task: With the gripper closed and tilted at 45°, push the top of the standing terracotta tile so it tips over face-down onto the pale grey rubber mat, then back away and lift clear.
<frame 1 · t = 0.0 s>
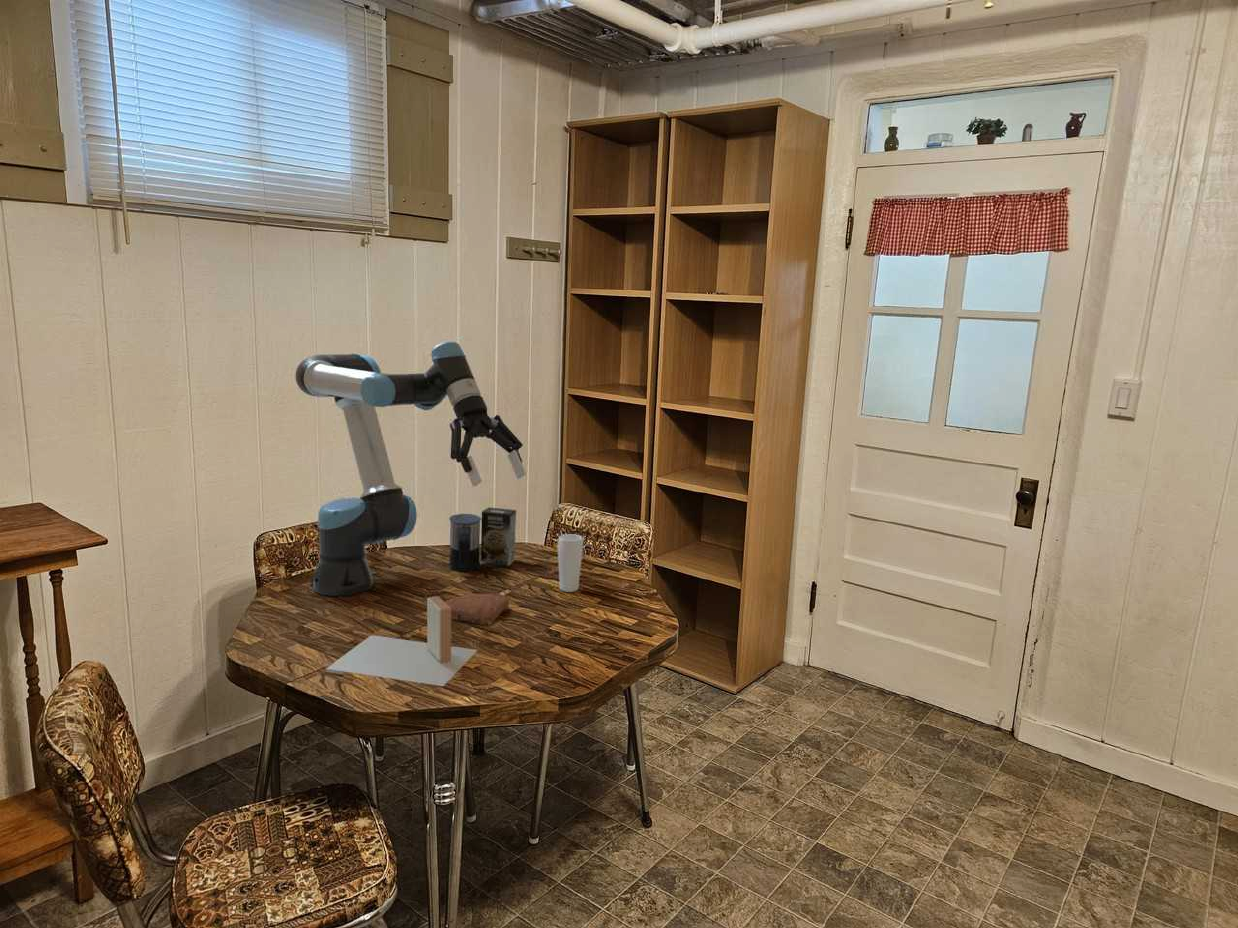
hand: (500, 480, 184), 36 cm above the table, tool tilted 35°, fingers open, 13 cm apart
terracotta tile: (438, 654, 171), point 1 cm above the table, touching grey mat
dark cardboard box: (497, 562, 238), on the table
milk frother: (477, 567, 232), on the table
grey mat: (404, 662, 168), on the table
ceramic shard: (472, 616, 197), on the table
drinking glass: (568, 590, 217), on the table
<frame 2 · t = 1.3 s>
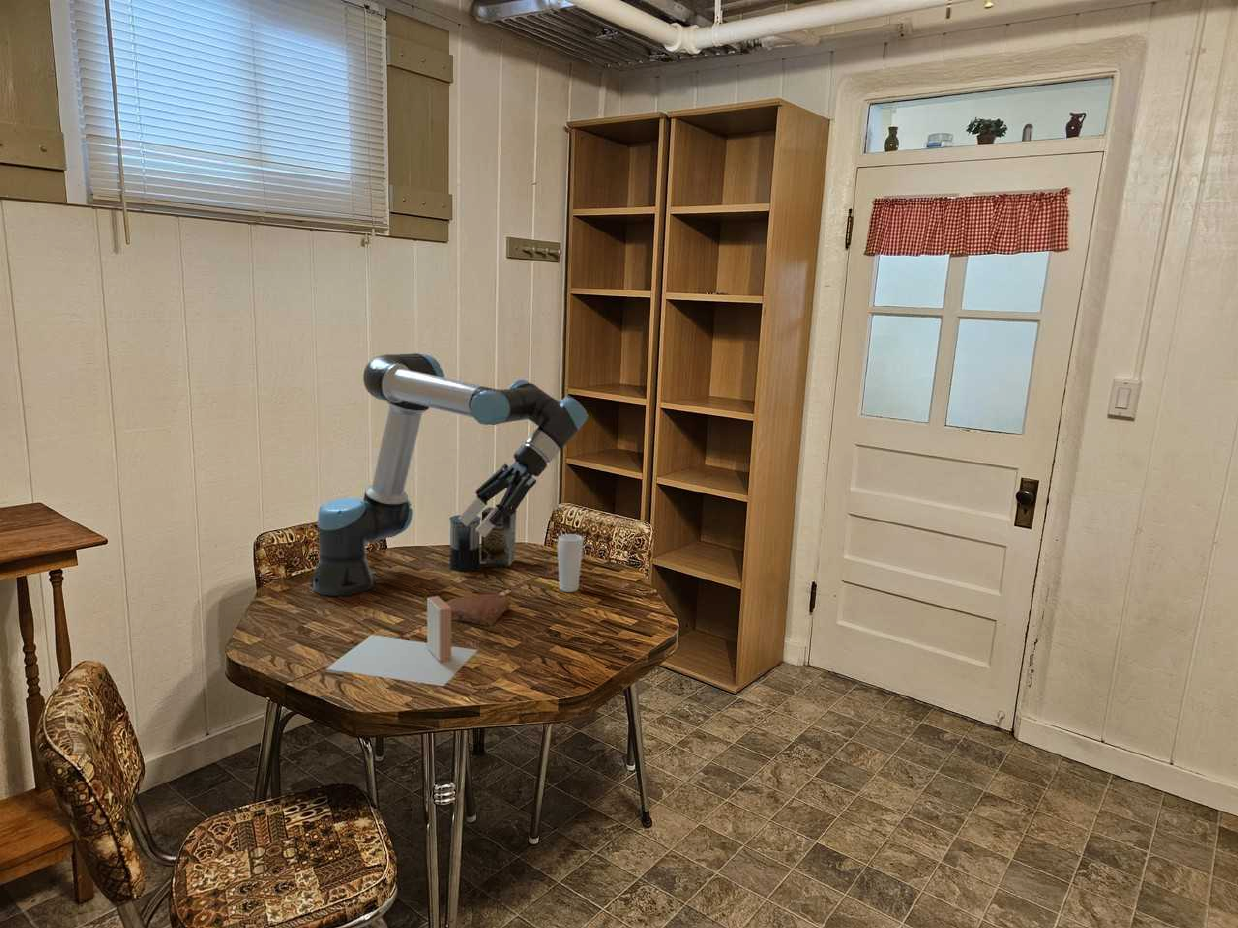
hand: (471, 527, 176), 27 cm above the table, tool tilted 45°, fingers open, 9 cm apart
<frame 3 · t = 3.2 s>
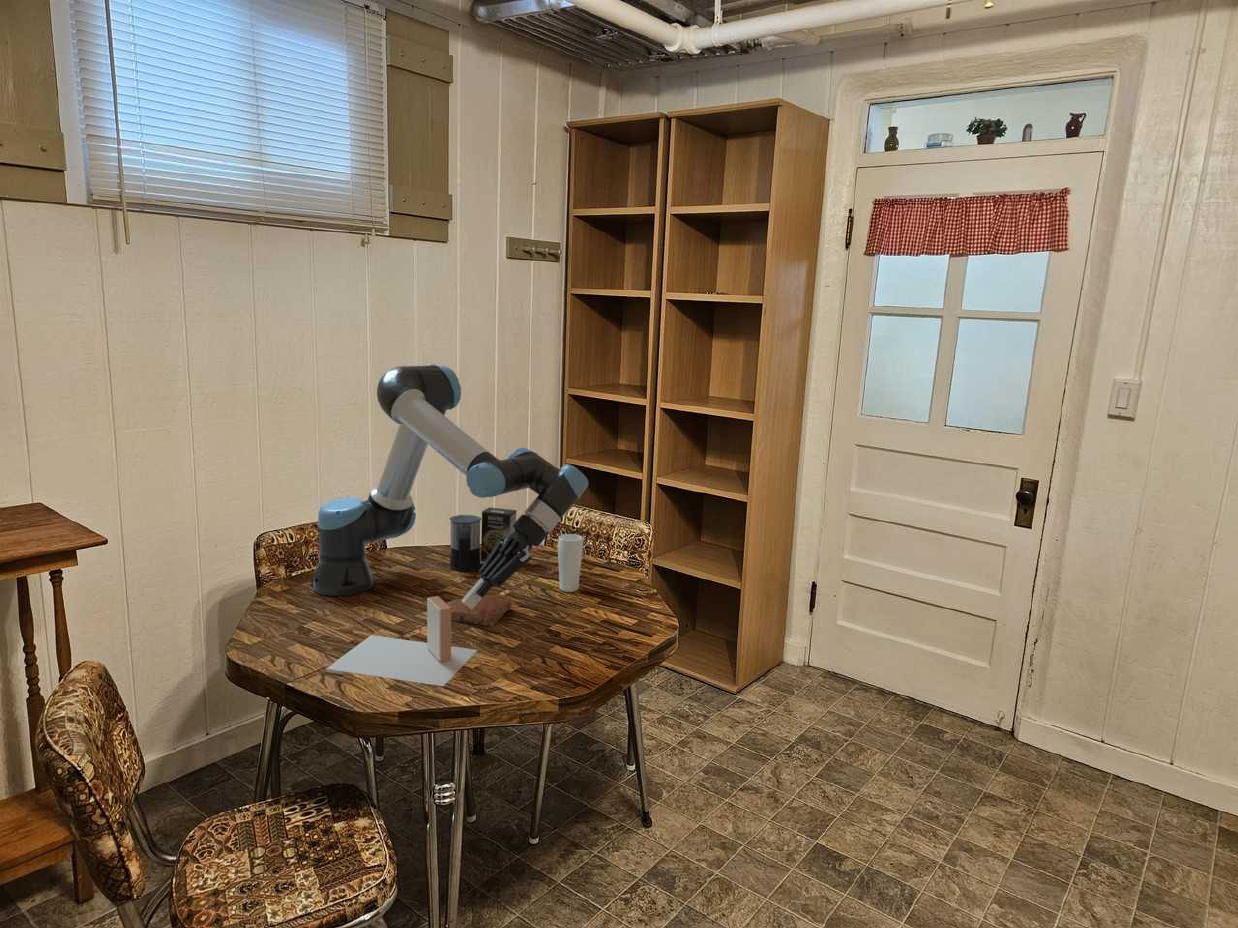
hand: (466, 605, 172), 11 cm above the table, tool tilted 45°, fingers closed
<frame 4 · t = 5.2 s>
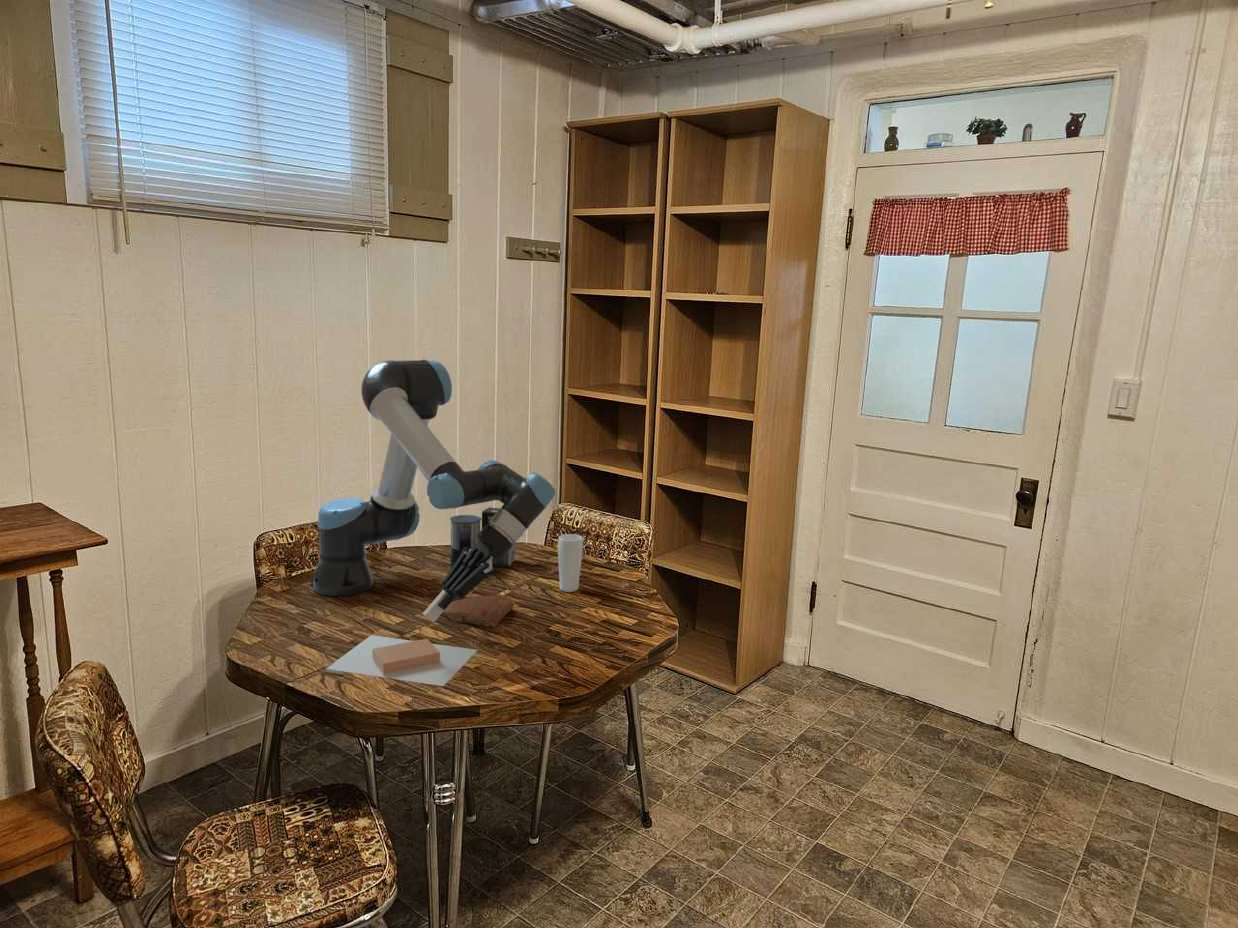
hand: (428, 617, 168), 10 cm above the table, tool tilted 45°, fingers closed
terracotta tile: (433, 650, 170), point 2 cm above the table, tilted 90°, touching grey mat
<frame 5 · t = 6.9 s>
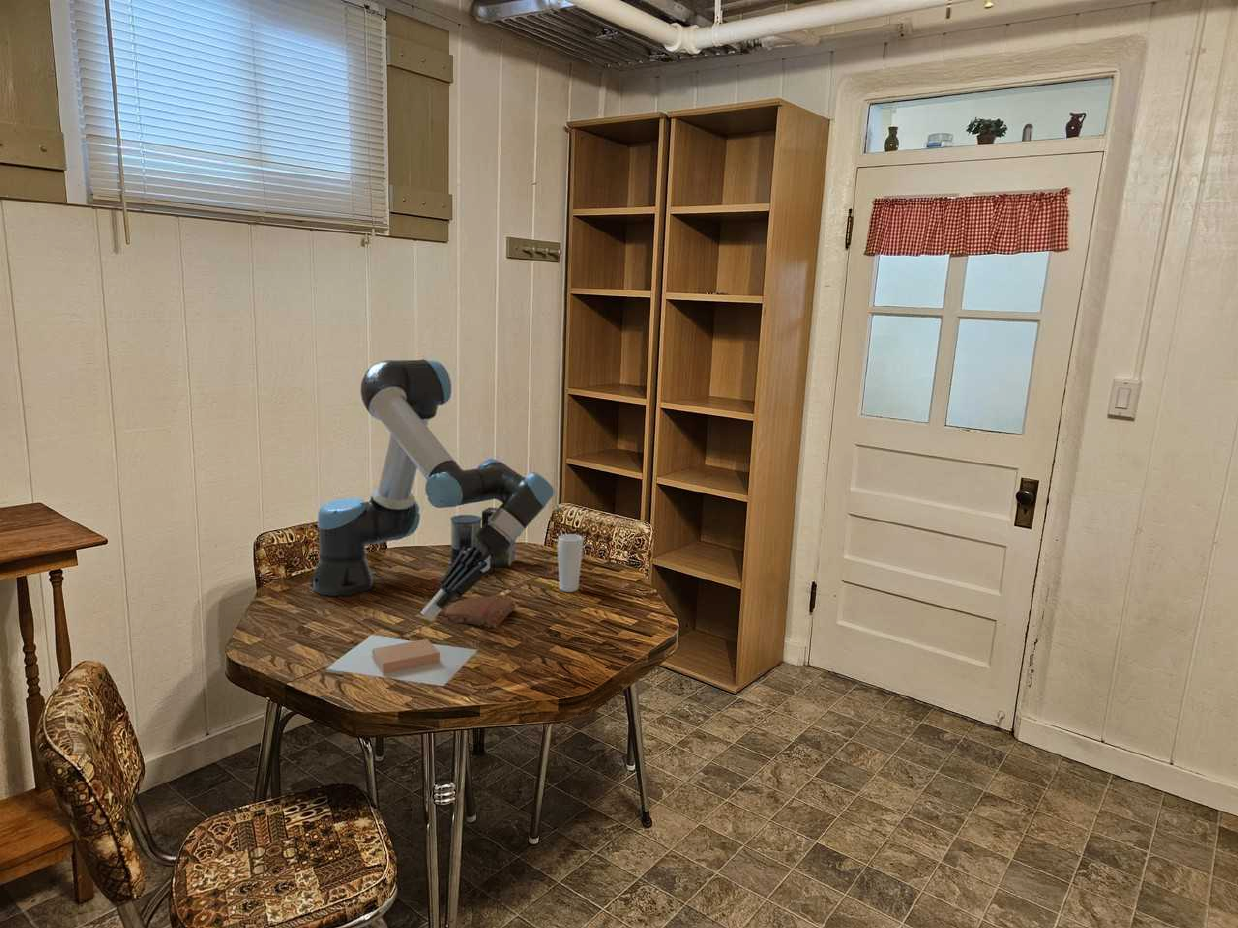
hand: (426, 616, 167), 10 cm above the table, tool tilted 45°, fingers closed
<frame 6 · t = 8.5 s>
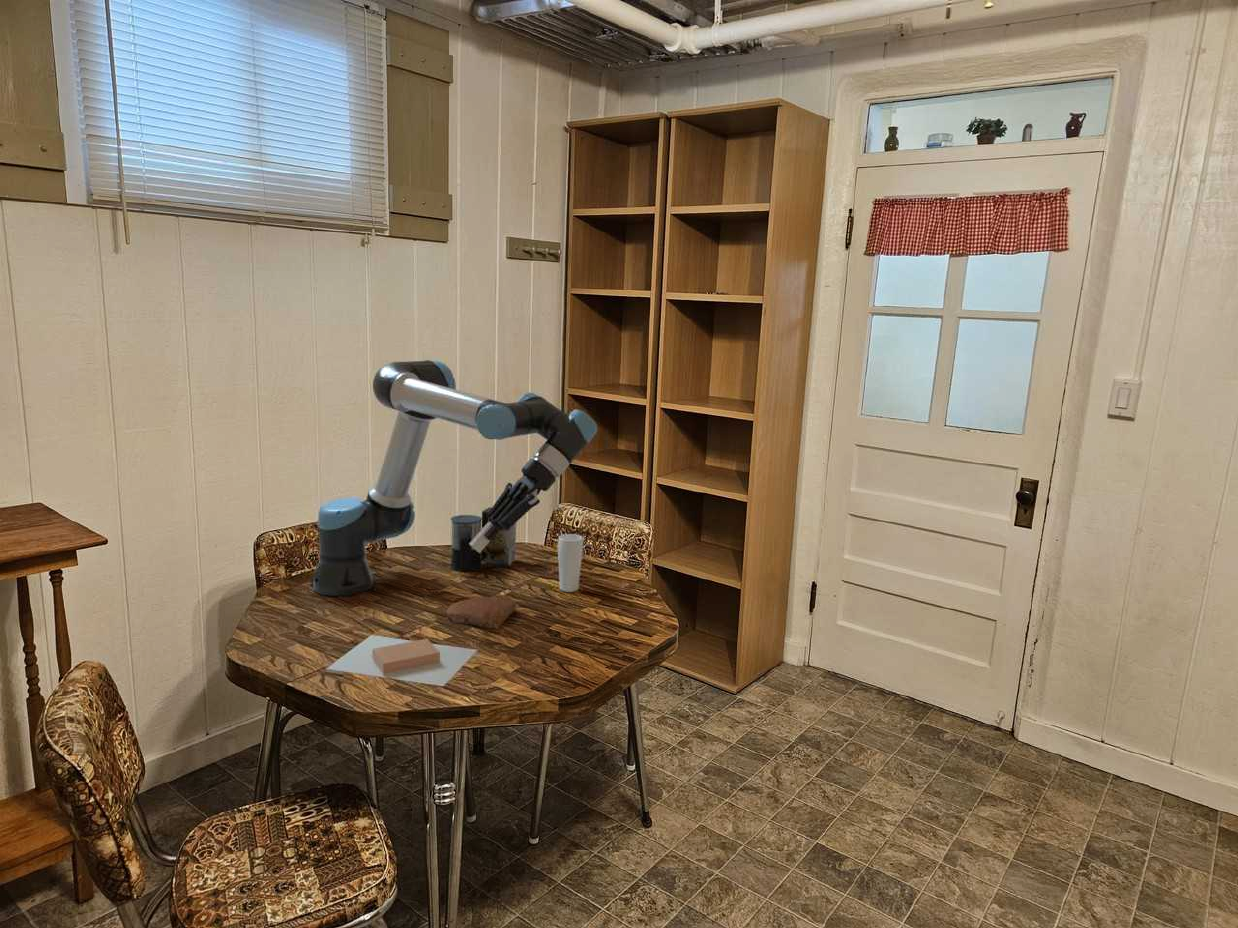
hand: (474, 548, 171), 24 cm above the table, tool tilted 45°, fingers closed
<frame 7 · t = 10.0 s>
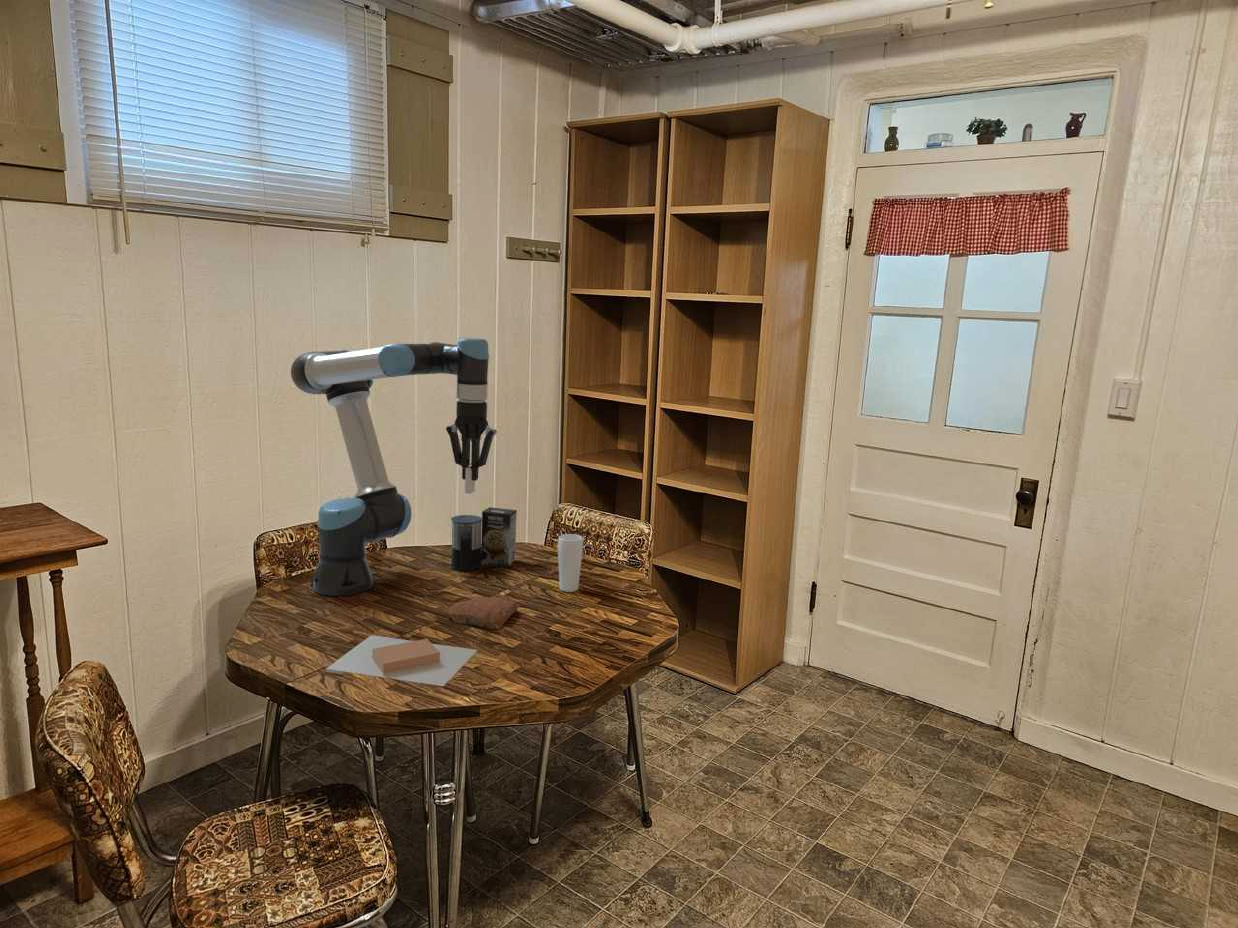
hand: (469, 492, 200), 29 cm above the table, tool pointing down, fingers closed
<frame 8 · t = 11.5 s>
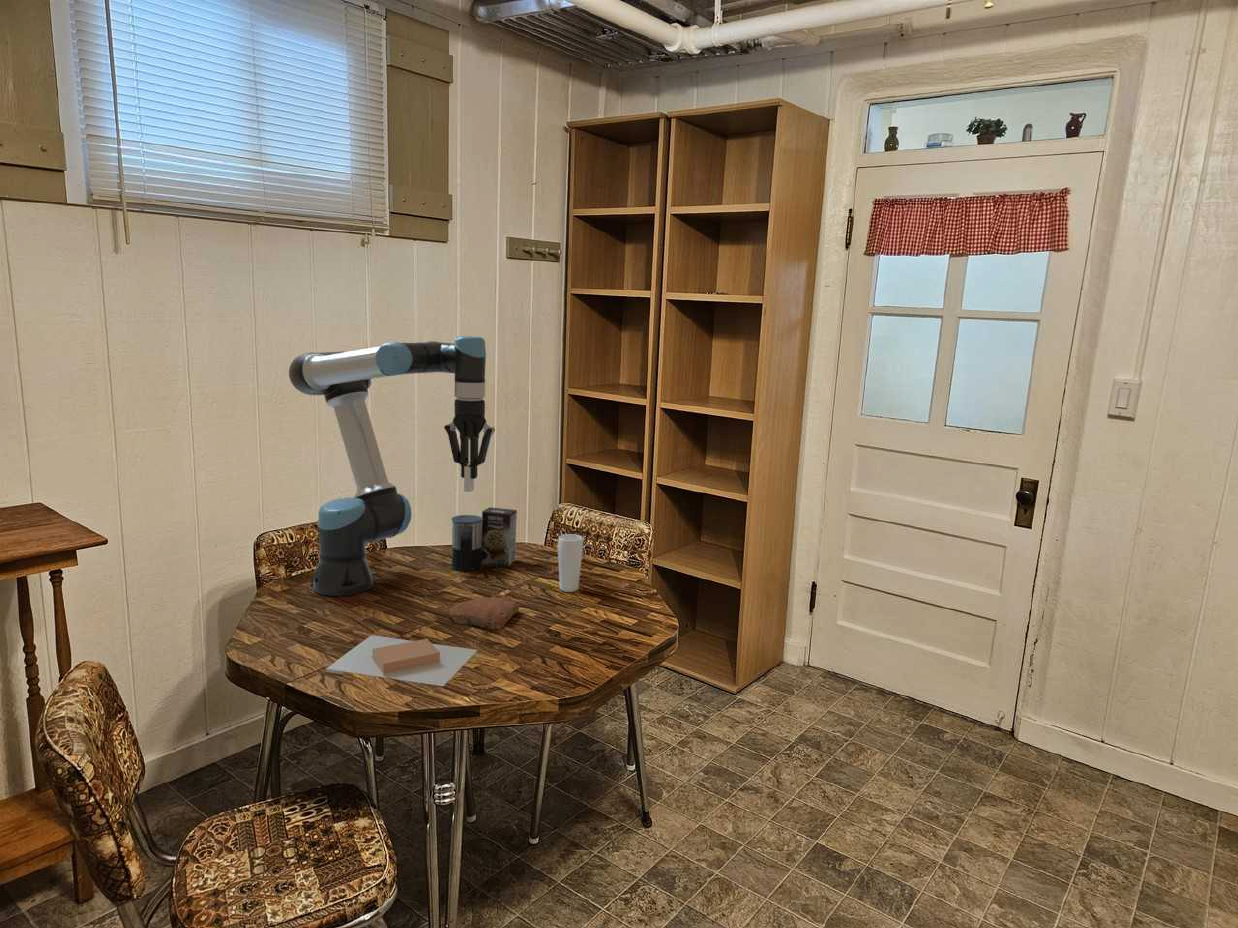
hand: (469, 490, 201), 29 cm above the table, tool pointing down, fingers closed
at the end: terracotta tile tilted 90°; terracotta tile inside the target area (5.7 cm from its centre), point 2.0 cm above the table; terracotta tile touching grey mat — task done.
